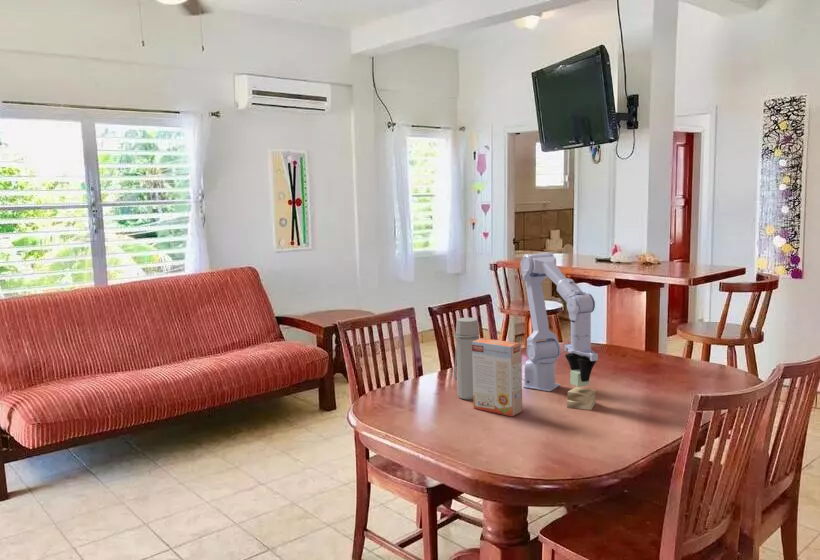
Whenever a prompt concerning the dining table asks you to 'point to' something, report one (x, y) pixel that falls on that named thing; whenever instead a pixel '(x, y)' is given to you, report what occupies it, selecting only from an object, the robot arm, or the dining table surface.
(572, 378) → the sage cube
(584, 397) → the beech slab top
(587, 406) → the beech slab bottom
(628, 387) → the dining table surface
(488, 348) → the cracker box
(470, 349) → the water bottle
